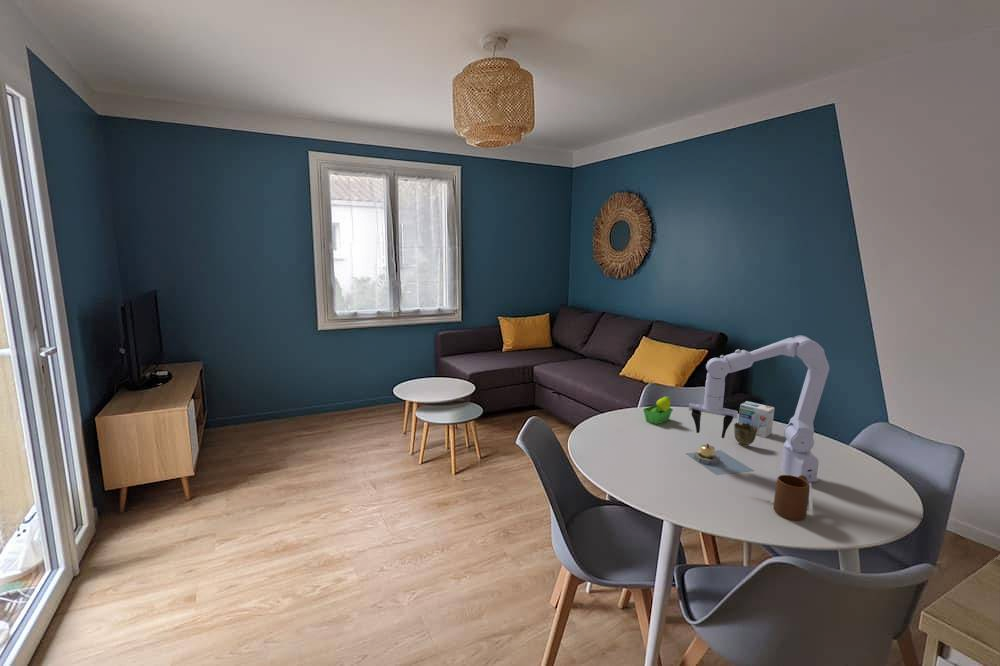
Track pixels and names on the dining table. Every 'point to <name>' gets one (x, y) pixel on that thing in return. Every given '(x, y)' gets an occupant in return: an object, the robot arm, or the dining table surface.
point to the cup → (745, 433)
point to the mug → (791, 497)
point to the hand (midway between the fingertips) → (710, 434)
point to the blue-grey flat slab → (720, 463)
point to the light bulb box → (757, 417)
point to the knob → (707, 452)
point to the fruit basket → (659, 411)
